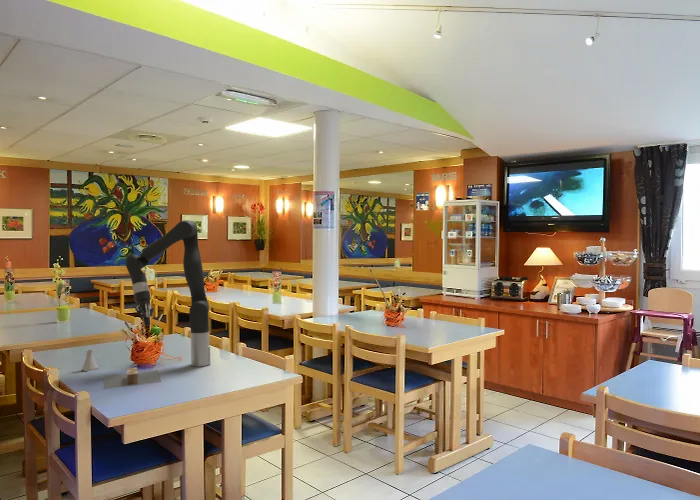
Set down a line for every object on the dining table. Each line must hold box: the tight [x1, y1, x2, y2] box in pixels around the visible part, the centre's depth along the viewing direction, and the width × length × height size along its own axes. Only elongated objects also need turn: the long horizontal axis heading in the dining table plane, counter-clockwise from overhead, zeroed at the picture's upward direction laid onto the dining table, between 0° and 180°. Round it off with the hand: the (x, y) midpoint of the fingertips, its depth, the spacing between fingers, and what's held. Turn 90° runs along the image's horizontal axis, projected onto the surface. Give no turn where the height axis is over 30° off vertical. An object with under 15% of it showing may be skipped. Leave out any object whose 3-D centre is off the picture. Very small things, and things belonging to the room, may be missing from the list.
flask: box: [81, 349, 99, 372], centre depth 258 cm, size 7×7×10 cm
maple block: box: [126, 367, 139, 385], centre depth 237 cm, size 4×4×12 cm
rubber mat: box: [102, 369, 162, 390], centre depth 240 cm, size 24×22×1 cm
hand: (147, 325), depth 257 cm, fingers closed
